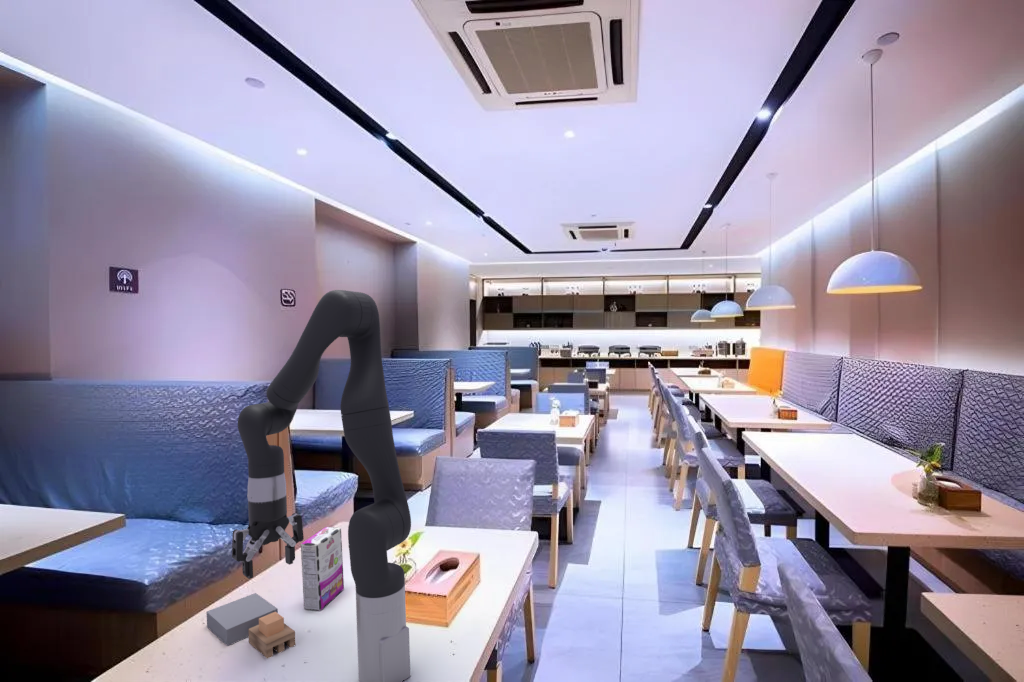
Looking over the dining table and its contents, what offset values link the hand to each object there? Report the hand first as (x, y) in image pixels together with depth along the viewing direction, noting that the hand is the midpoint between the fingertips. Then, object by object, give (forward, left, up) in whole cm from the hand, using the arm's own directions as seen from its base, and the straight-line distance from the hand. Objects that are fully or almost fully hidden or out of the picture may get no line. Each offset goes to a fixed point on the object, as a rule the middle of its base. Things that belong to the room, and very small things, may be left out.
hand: (270, 570), depth 112 cm
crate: (0, 0, -13) cm, 13 cm away
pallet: (0, 0, -16) cm, 16 cm away
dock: (+13, +1, -16) cm, 21 cm away
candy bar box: (+9, -17, -16) cm, 25 cm away
